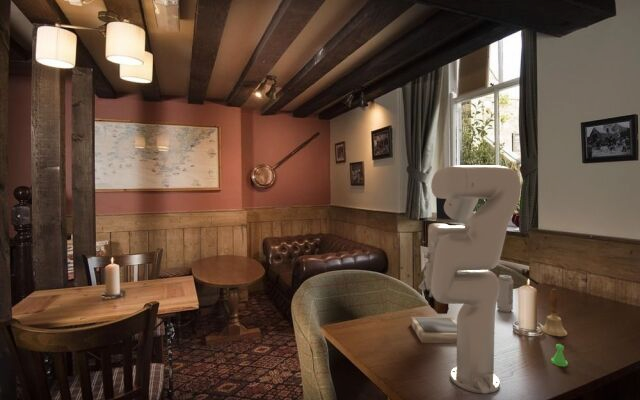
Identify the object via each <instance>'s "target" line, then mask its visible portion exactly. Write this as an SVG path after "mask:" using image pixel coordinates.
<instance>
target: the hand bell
mask: <svg viewBox="0 0 640 400" xmlns="http://www.w3.org/2000/svg"><path fill="white" fill-rule="evenodd" d="M549 301H550V304H551V309H550V312H551V314H550V315H547V316H546V321H545V323H544V325H542V327H541V328H540V331H541V330H542V331H543V332H542V331H541V332H542V333H544V334H545V335H549V336H552V337H554V336H555V337H566V336H568V332H567V330H565V328H564V326H563V323H562V318H561V317H560V316H558V315H557V314H558V311H557V305H558V303H559V295H558V292H557V289H556V288H552V289H551V291H550V294H549Z"/></svg>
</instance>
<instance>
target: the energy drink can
mask: <svg viewBox="0 0 640 400" xmlns="http://www.w3.org/2000/svg"><path fill="white" fill-rule="evenodd" d="M497 278H498V280H499V295H498V299H497V303H496V309H498V311H499V310H500V311H499V312H501V311H503V312H502V313H505V312H510V311H511V312H512V311H513V309H514V308H513V307H514V306H513V305H514V279H513V278H512V275H507V274H499V275H498V277H497ZM511 312H510V313H511Z"/></svg>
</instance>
